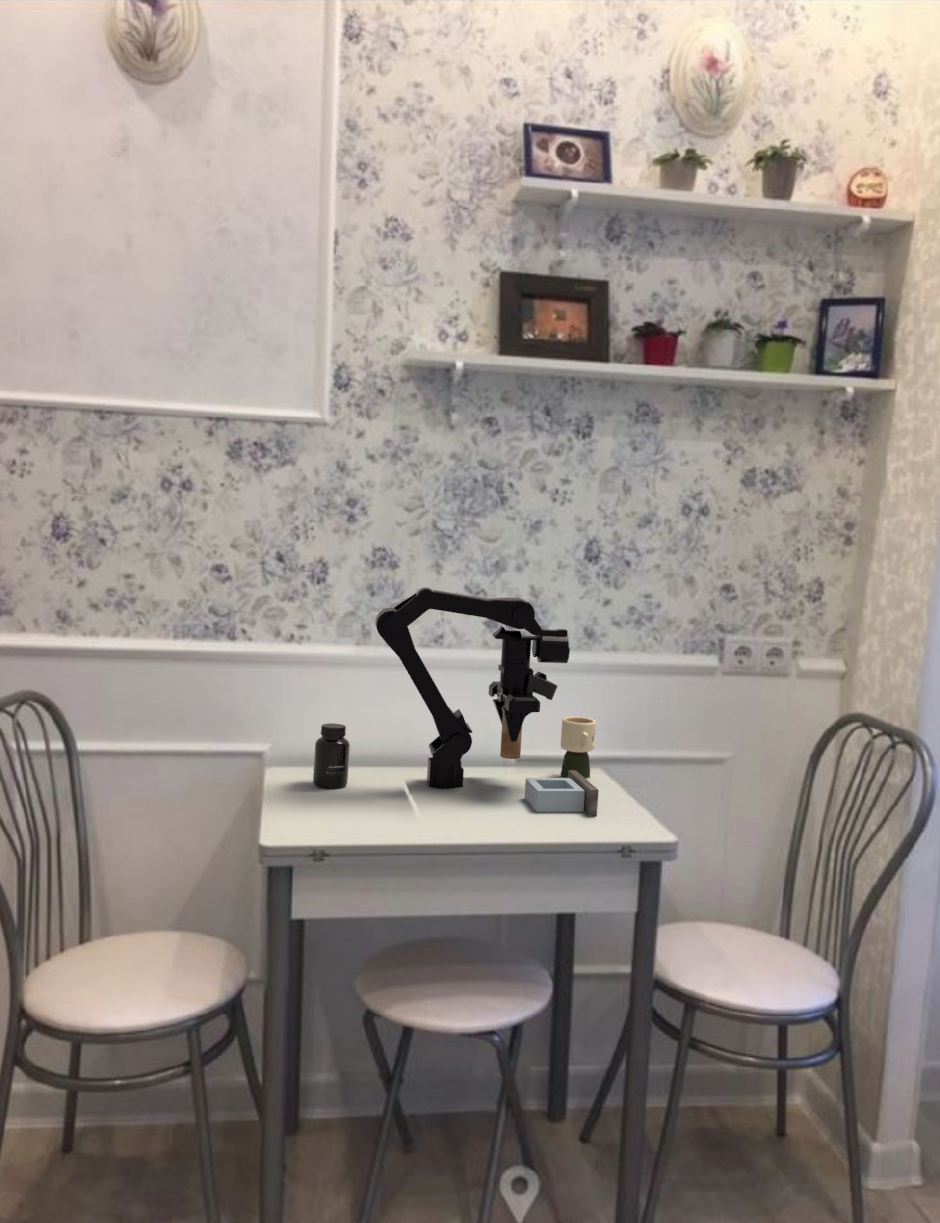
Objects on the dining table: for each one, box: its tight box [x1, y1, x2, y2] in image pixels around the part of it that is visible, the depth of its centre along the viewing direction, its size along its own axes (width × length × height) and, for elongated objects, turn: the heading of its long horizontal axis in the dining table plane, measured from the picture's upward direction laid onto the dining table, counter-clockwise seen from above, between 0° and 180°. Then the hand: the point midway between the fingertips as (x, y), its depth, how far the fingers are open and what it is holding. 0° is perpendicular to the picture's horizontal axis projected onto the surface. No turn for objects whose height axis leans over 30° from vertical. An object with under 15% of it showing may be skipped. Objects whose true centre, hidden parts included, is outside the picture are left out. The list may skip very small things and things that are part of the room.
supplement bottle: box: [312, 722, 351, 790], centre depth 204 cm, size 7×7×12 cm
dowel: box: [499, 706, 523, 760], centre depth 205 cm, size 4×4×10 cm
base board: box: [568, 770, 599, 817], centre depth 194 cm, size 18×14×6 cm
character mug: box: [560, 716, 597, 780], centre depth 218 cm, size 11×7×13 cm, turn 13°
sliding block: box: [524, 777, 585, 813], centre depth 195 cm, size 9×9×4 cm
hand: (511, 738), depth 205 cm, fingers closed on dowel, 4 cm apart
